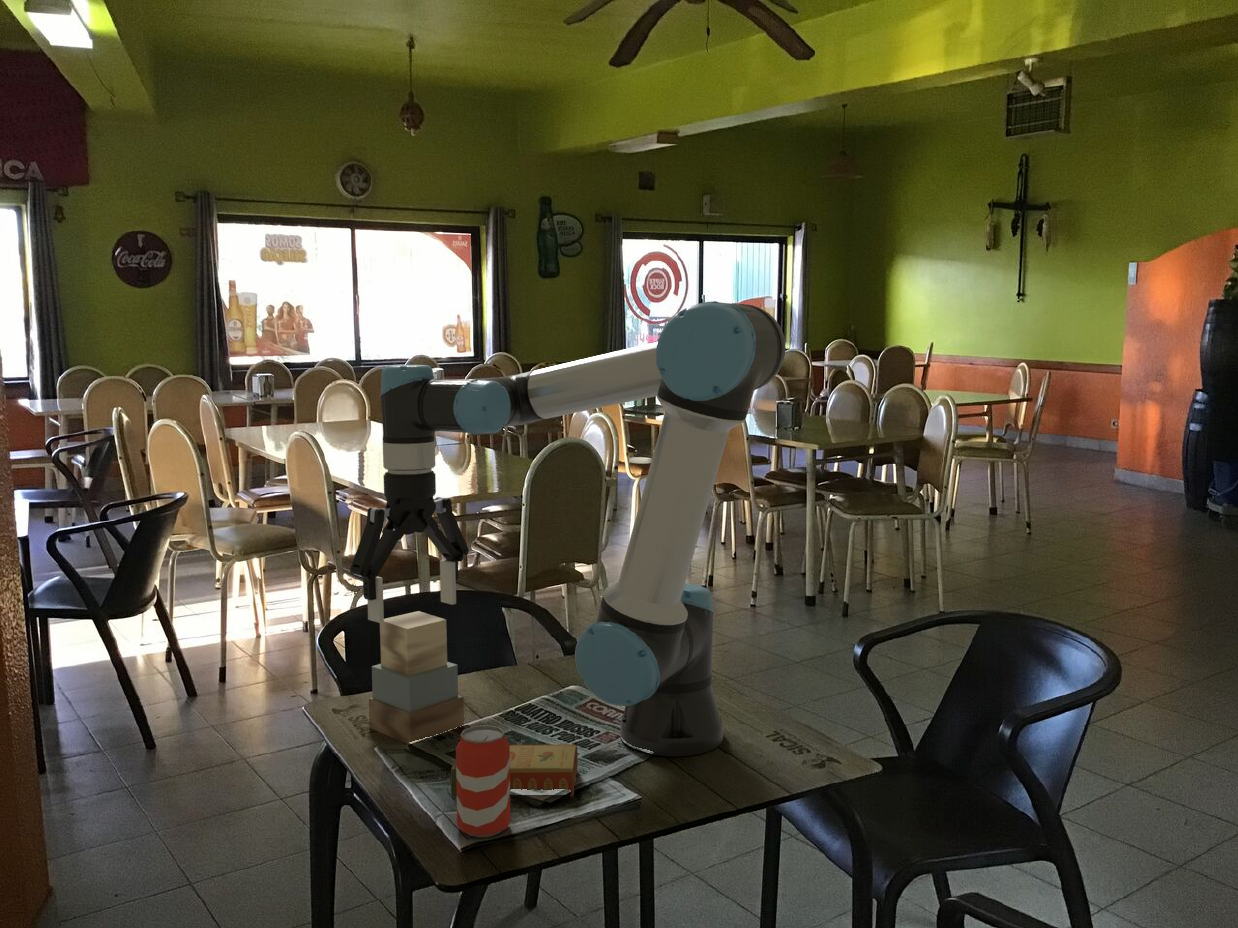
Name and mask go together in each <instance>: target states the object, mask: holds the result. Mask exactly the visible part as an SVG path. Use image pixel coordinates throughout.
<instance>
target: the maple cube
mask: <svg viewBox="0 0 1238 928" xmlns="http://www.w3.org/2000/svg"><path fill="white" fill-rule="evenodd" d="M379 637H380V639H379V640H380V644H379V645H380V664H381V665H382V666H384V667H387V668H389V669H392V670H395V671H397V672H400V673H403V674H405V675H408V676H409V675H413V674H416V673H420V672H424V671H427V670H431V669H434V668H438V667H442V666H445V665H447V662H448V647H447V646H448V643H447V642H448V639H447V637H448V635H447V619H446V618H442V617H438V616H436V615H432V614H429V613H426V612H422V611H420V610H418V611H413V612H409V613H404V614H399V615H395V616H391V617H387V618H384V622H381V623H379Z"/></svg>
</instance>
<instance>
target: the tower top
mask: <svg viewBox="0 0 1238 928" xmlns="http://www.w3.org/2000/svg"><path fill="white" fill-rule="evenodd" d="M458 670H459V669H458V664H456V663H453V662H450V661H447V665H445V666H442V667H438V668H434V669H431V670H427V671H424V672H420V673H416V674H413V675H409V676H408V675H405V674H403V673H400V672H397V671H395V670H392V669H389V668H387V667H384V666H382V665H381V663H378V664H376V665H372V666H371V681H372V682H371V684H372V685H371V686H372V689H371V691H372V697H373V699H375V700H378V701H381V702H383V703H386V704H389V705H391V706H394V707H397V708H399V709H402V710H405V711H407V712H413V711H417V710H420V709H423V708H426V707H429V706H432V705H435V704H438V703H441V702H444V701H447V700H450V699H453V698H456V697H458V695H459V679H458V678H459V675H458V673H459V672H458Z"/></svg>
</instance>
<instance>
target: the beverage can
mask: <svg viewBox="0 0 1238 928" xmlns="http://www.w3.org/2000/svg"><path fill="white" fill-rule="evenodd" d="M505 733H506V731H504V729H502V728H501V727H499V726H493V725H489V724H487V725H484V724H483V725H473V726H471V727H468V728H465V729H464V730H462V732H461V733H460V740H459V741H458V743H457V745H456V747H455V760H456V784H457V795H456V826H457V827H458V828H459V829H460V830H461V831H462V832H463V833H465V834H467V835H469V836H470V837H471V836H472V837H475V838H479V839H480V838H489V837H493V836H495V835H499V834H501V833H502V832H503V831H505V830H507V829H508V827H509V825H510V823H511V796H510V745H511V744H510V742H509V740H508V739H507V738H506V736H505Z"/></svg>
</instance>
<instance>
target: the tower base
mask: <svg viewBox="0 0 1238 928" xmlns="http://www.w3.org/2000/svg"><path fill="white" fill-rule="evenodd" d="M464 699H465V698H464V695H463V696H462V695H461V694H458V697H456V698H453V699H450V700H447V701H444V702H441V703H438V704H435V705H432V706H429V707H426V708H423V709H420V710H417V711H413V712H407V711H405V710H402V709H399V708H397V707H394V706H391V705H389V704H386V703H383V702H381V701H378V700H375V699H373V696H371V697H369V698H368V719H369V720H368V722H369V724H368V725H369V726H368V727H369V729H371V730H374V731H376V732H378V733H381V734H383V735H385V736H387V737H390V738H393V739H396V740H398V741H400V742H402V743H405V744H407V745H409V744H408V743H409V742H412V741H415V740H419V739H423V738H425V737H430V736H434V735H436V734H440V733H443V732H445V731H448V730H450V729H454V728H456V727H460V726H462V725H465V715H464V714H465V713H464V711H465V710H464V706H465V705H464V704H465V703H464V702H465V701H464ZM460 728H461V727H460ZM443 734H444V733H443Z"/></svg>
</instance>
